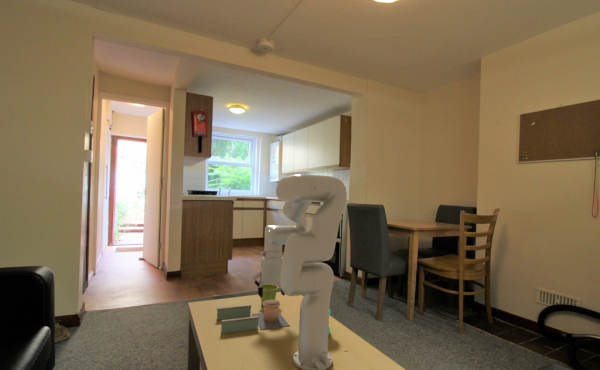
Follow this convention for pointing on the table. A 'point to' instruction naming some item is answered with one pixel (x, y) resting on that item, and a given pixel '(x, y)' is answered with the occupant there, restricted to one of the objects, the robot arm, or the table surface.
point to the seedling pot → (271, 311)
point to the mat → (267, 325)
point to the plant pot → (269, 292)
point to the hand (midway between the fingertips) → (271, 295)
